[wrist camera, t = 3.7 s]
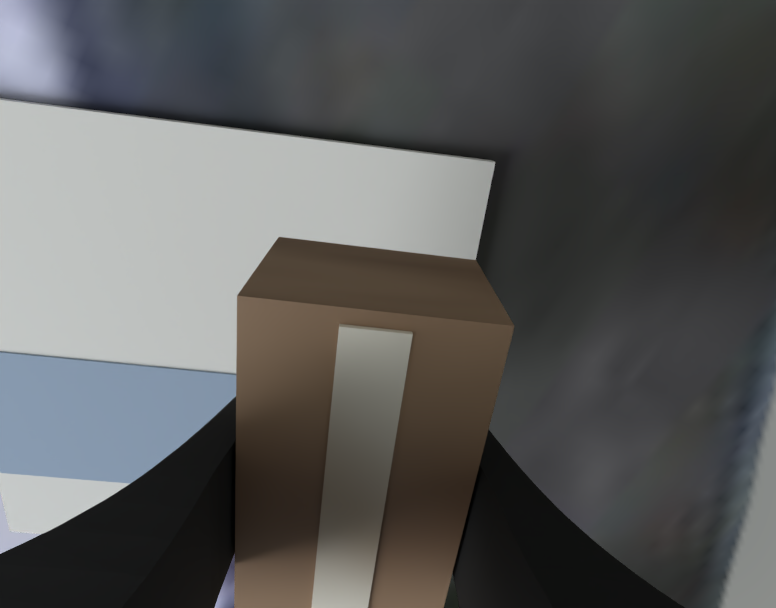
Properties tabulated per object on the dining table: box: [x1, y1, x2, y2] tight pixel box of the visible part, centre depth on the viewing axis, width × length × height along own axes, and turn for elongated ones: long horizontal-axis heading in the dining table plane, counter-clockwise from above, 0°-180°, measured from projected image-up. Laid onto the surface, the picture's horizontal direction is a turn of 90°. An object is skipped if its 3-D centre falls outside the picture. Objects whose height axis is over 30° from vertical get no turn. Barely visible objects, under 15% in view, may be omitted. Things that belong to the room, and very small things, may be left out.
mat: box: [0, 98, 495, 534], centre depth 21 cm, size 20×20×1 cm
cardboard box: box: [234, 237, 514, 608], centre depth 11 cm, size 9×4×4 cm, turn 173°
